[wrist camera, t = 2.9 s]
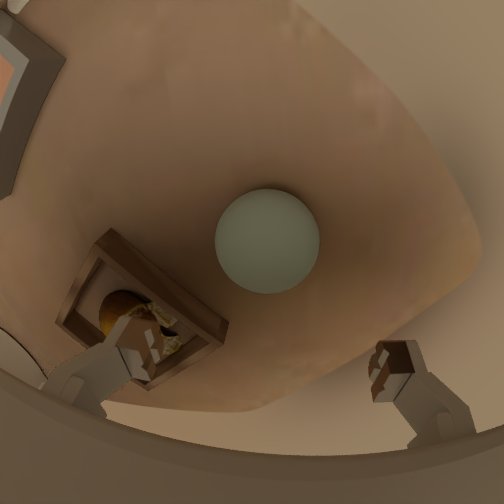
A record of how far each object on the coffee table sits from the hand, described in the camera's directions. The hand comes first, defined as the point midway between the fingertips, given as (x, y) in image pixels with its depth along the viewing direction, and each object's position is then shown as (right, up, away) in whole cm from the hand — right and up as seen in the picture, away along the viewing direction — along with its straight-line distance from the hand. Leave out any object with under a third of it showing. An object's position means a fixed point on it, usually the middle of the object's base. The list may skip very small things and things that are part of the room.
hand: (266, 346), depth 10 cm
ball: (0, +4, +7) cm, 8 cm away
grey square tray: (-24, +18, +5) cm, 31 cm away
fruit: (-10, -3, +16) cm, 19 cm away
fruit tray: (-12, -3, +16) cm, 20 cm away
